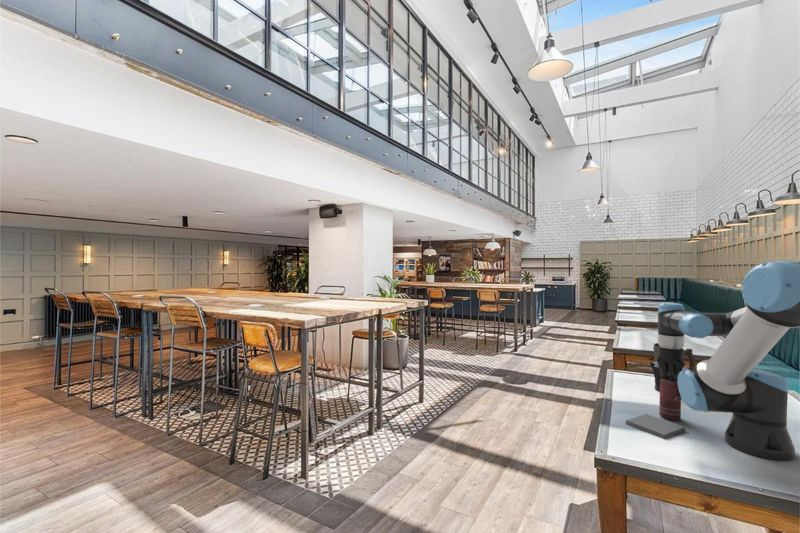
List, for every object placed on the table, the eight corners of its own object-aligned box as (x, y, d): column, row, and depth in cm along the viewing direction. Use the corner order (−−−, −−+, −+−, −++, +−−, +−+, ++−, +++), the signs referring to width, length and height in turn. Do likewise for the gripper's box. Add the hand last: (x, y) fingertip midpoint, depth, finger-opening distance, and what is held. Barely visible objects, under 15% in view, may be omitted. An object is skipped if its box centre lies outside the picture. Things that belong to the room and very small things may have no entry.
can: (673, 414, 135) (673, 375, 135) (684, 421, 129) (685, 381, 129) (655, 413, 136) (655, 375, 136) (666, 420, 130) (666, 380, 130)
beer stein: (663, 395, 154) (664, 347, 154) (647, 386, 165) (647, 341, 165) (701, 396, 154) (702, 348, 153) (683, 387, 164) (683, 342, 164)
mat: (684, 430, 122) (684, 427, 122) (664, 438, 117) (664, 434, 117) (646, 417, 133) (646, 413, 133) (625, 423, 127) (626, 420, 127)
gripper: (697, 349, 128) (696, 417, 128) (657, 342, 140) (656, 404, 140) (686, 351, 125) (685, 421, 125) (645, 344, 136) (644, 408, 136)
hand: (669, 412), depth 132 cm, fingers closed
